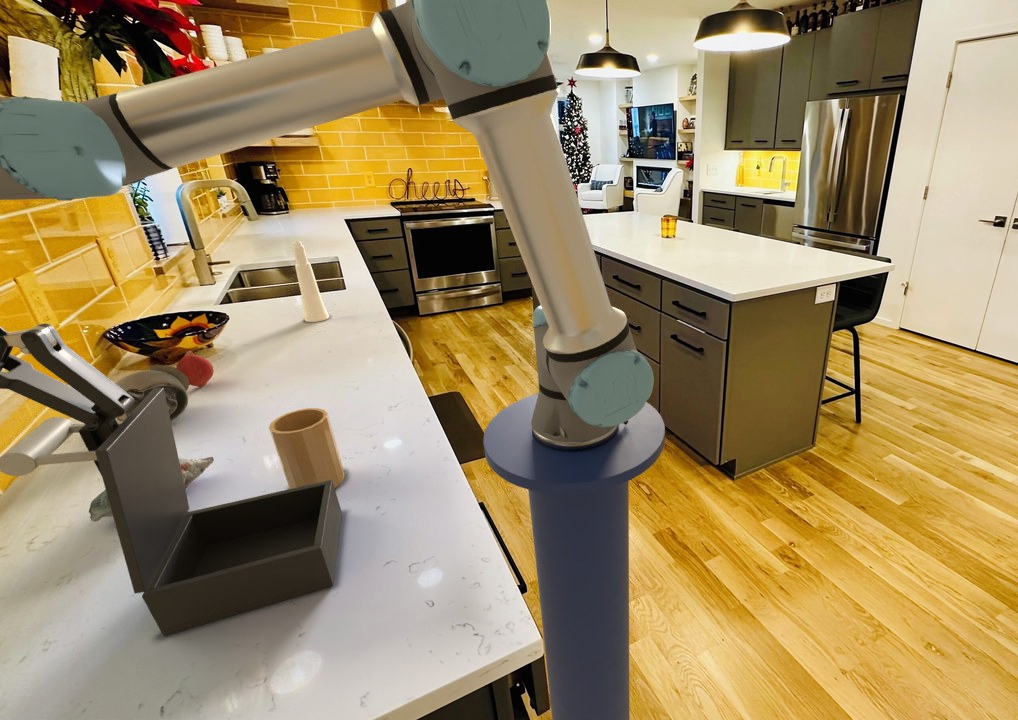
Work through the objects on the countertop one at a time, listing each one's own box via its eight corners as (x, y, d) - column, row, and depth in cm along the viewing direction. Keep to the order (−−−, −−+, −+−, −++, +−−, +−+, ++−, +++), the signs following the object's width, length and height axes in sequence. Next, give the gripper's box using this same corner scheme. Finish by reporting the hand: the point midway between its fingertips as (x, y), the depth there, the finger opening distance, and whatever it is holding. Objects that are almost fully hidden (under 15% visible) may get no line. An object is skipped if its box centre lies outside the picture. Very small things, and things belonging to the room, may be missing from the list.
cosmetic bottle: (333, 315, 147) (314, 240, 139) (322, 322, 142) (302, 244, 133) (311, 315, 147) (291, 240, 138) (300, 322, 141) (278, 244, 133)
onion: (184, 395, 101) (169, 359, 98) (182, 386, 105) (168, 351, 102) (220, 387, 105) (207, 352, 101) (217, 378, 108) (204, 344, 105)
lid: (163, 387, 56) (53, 391, 52) (106, 450, 44) (-40, 462, 40) (189, 508, 61) (91, 520, 57) (144, 592, 50) (19, 614, 46)
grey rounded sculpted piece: (208, 403, 98) (189, 354, 94) (181, 434, 88) (158, 381, 84) (144, 411, 95) (122, 362, 91) (108, 444, 85) (81, 390, 81)
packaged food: (219, 472, 78) (207, 445, 76) (163, 525, 67) (148, 496, 65) (158, 476, 77) (144, 450, 75) (91, 531, 66) (73, 502, 64)
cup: (346, 464, 80) (329, 404, 76) (342, 490, 74) (324, 426, 70) (294, 475, 77) (274, 413, 73) (287, 503, 72) (264, 437, 67)
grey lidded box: (342, 513, 70) (332, 479, 67) (333, 585, 58) (320, 548, 56) (203, 548, 64) (186, 512, 61) (163, 636, 52) (141, 596, 50)
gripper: (-432, 315, 32) (-207, 563, 41) (81, 276, 42) (175, 484, 50) (-299, 286, 38) (-128, 507, 47) (121, 258, 48) (199, 446, 57)
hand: (29, 495), depth 49 cm, fingers open, 12 cm apart
